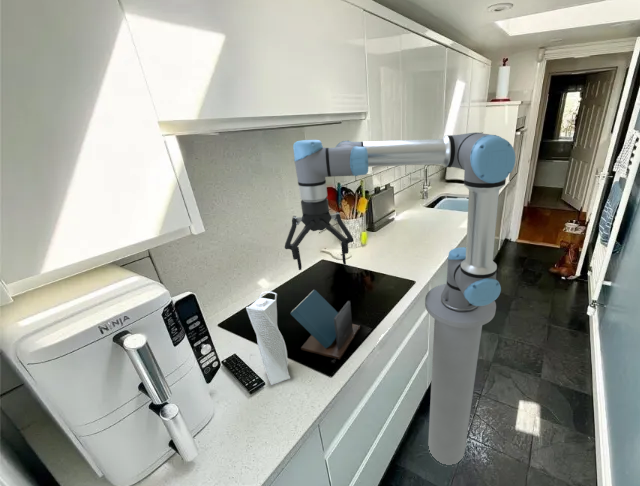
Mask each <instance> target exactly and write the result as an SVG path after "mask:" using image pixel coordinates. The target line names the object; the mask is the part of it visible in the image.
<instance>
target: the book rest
mask: <svg viewBox="0 0 640 486" xmlns="http://www.w3.org/2000/svg"><path fill="white" fill-rule="evenodd" d="M334 325H335V333H336V339H335V340H334V341H333V343H332V344H331V345H330V346H329V347H327V348H325V347H324V346H323V345H322V344H321V343H320V342H319V341H318V340H316V339H315V338H314V337H313V336H312V335H311V334H310V336H309V337H308V338H307V340H306V341H305V342H304V343H303V345H302V346H301V347H300V350H301V351H304V352H309V353H314V354H317V355H320V356H324V357H328V358H332V359H336V360H341V359H342V357H343V355H344V354H345V353H346V351H347V349H348V348H349V346H350V345H351V343H352V342H353V340H354V338H355V337H356V335H357V334H358V332H359V331H360V329H361V325H360V324H355V323H353V318H352V306H351V300H347V301H346V303H345V304H344V305H343V307H341V309H340V310H339V311H338V314H337V315H336V317H335V318H334Z"/></svg>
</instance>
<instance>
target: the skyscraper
mask: <svg viewBox="0 0 640 486" xmlns="http://www.w3.org/2000/svg"><path fill="white" fill-rule="evenodd" d="M264 294H273V295H274V299H271V298H266V297H263V295H264ZM277 298H278V293H277V292H274V291H269V290H267V291H262V292H261V293H260V294H259V297H258V298H257V299H256V300H255V301H254V302H253V303H251V304H250V305H248V306H246V307H245V310H246V313H247V315H248V318H249V320H250V324H251V326H252V328H253V330H254V333H255V335H256V341H257V347H258V352H259V355H260V358H261V363H262V365H263V366H264V370H265V373H266V376H267V379H268V381H269V384H270V386H273V385H276V384H279V383H281V382H284V381H286V380H290V379H291V376H290V373H289V368H288V367H289V366H288V365H289V364H288V361H289V360H288V350H287V345H286V342H285V339H284V336H283V335H282V333H281V331H280V330H279V326H278V307H277V306H278V305H277V303H278V302H277Z"/></svg>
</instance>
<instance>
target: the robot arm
mask: <svg viewBox="0 0 640 486" xmlns="http://www.w3.org/2000/svg"><path fill="white" fill-rule="evenodd" d="M292 149H293V156H294V159H293V161H294V166H295V172H296V179H297V186H298V192H299V199H301V201H300V206H301V215H302V216H297V215H293V216H292V217H291V226H290V228H289V232H288V235H287V238H286V241H285V243H284V249H285V250H290V251H291V254H292V259H293V261H295V260H296V261H297V267H298V271H302V268H303V266H302V260H301V253H300V248H299V246H300V244H301V243H302V241H303V240H304V239H305V238H306V236H307V235H308V234H309V232H310V231H312V232H317V231H324V230H327V231H328V232H330V233H331V234H332V235H333V236H334V237H335V238H337V239H338V240H339V241H340V247H341V253H342V254H341V258H342V265H343V266H344V265H347V259H346V255H347V254H349V244H350V243H353V242H354V237H353V235H352V233H351V232H350V230H349V229H348V228H347V226H346V224H345V223H344V221H343V220H342V217H341V213H340V212H339V211H336V212H335V213H332V214H331V213H330V210H329V209H330V208H329V199H328V198H327V197H328V189H327V188H328V187H327V180H326V178H328V177H329V178H331V177H358V176H365V175H368V173H369V167H370V168H371V167H397V166H399V167H401V166H425V165H427V166H428V165H441V166H442V167H443V168H454V169H460V170H463V172H464V176H463V185H464V186H465V188H467V190H468V203H467V223H466V241H465V242H466V245H465V246H466V247H461V246H460V247H455V248H452V249H450V250H449V252H448V257H447V271H446V283H445V284H446V286H445V288H444V290H443V292H442V295H441V302H442V304H443V305H444V306H445V307H446V308H448V309H450V310H452V311H456V312H470V311H473V310H475V309H477V308H478V306H485V305H488V304H490V303H492V302H493V301H496V300H497V299H498V298H499V296H500V294H501V291H502V287H501V284H500V282H499V280H497V271H498V270H497V269H498V265H497V263H496V262H495V261H493V260H494V249H495V240H496V239H495V238H496V228H497V227H496V226H497V219H498V207H499V197H500V196H499V195H500V190H501V189H502V188H504V187H505V186H506V181H507V178H508V177H509V175H510V174H511V173H512V172H513V170H514V168H515V165H516V151H515V148H514V147H513V145H512V144H511V143H510V142H509V140H507V139H505V138H503V137H502V136H499V135H496V134H489V133H483V132H468V133H461V134H452V135H451V134H447V135H444V136H443V137H442V138H436V139H435V138H433V139H406V140H405V139H401V140H399V139H398V140H368V141H367V140H366V141H350V140H342V141H340V142H339V143H338V144H336V146H335V147H324V145H323V143H322V141H321V140H320V139H302V140H297V141H295V142H294V143H293V148H292ZM332 220H334V222H337V224H338V225H339V227H340V228H341V230H342V232H343V233H344V235H345V236H346V237H345V236H344V235H343V234H342V233H341V232H340V231H339V230H338V229H337V228H335V227H334V226H333V225H332V224H331V223H330V222H331V221H332ZM301 222H302V224H303V225H304V226H303V228H302V230H301V231H300V233H299V234H298V235H297V237H296V238H295V239H294V241H293V242H292V240H293V238H294V235H295V233H296V230H297V226H299V225H300V223H301Z"/></svg>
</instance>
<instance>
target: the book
mask: <svg viewBox="0 0 640 486" xmlns="http://www.w3.org/2000/svg"><path fill="white" fill-rule="evenodd" d="M338 313H339V311H337V310H336V309H335V308H334V307H333V306H332V305H331V304H330V302H328V301H327V300H326V299H325V298H324V297H323V296H322V295H321V294H320V293H319V292H318V291H317V290H316V289H313V290H312V291H311V292H309V293H308V295H307V296H306V297H305V298H304V299H303V300H302V301H300V303H299V304H298V305H296V307H294V308H293V309H292V310H291V311H290V315H291V316H292V317H293V318H294V319H295V320H296V321H297V322H298V323H299V324H300V326H302V327H303V328H304V329H305V330H306V331H307V332H308V334H310V336H311V335H312V336H313V337H314V338H315V339H316V340H318V341H319V342H320V343H321V344H322V345H323V346H324V347H325V348H327V347H329V346H330V345H331V344H332V343H333V341H334V340H335V339H336V333H335V325H334V318H335V317H336V315H337V314H338Z"/></svg>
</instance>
